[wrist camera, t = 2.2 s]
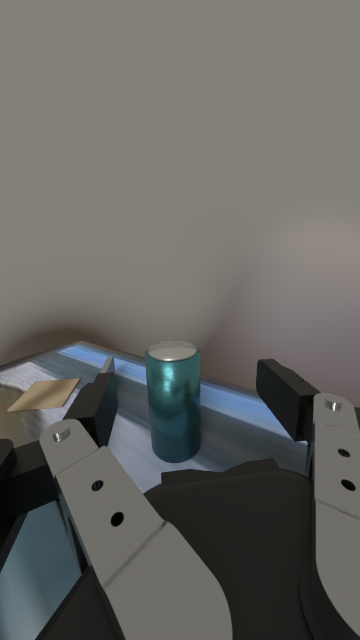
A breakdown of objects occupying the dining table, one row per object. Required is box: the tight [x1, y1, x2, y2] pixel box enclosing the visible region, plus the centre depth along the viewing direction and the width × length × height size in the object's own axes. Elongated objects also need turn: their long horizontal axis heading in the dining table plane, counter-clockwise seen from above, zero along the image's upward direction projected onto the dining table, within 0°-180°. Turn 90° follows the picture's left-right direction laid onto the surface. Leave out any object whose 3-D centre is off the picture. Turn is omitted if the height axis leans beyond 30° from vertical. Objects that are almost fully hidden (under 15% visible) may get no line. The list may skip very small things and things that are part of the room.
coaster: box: [8, 378, 80, 412], centre depth 37 cm, size 8×8×1 cm
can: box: [145, 340, 201, 463], centre depth 25 cm, size 6×6×12 cm
